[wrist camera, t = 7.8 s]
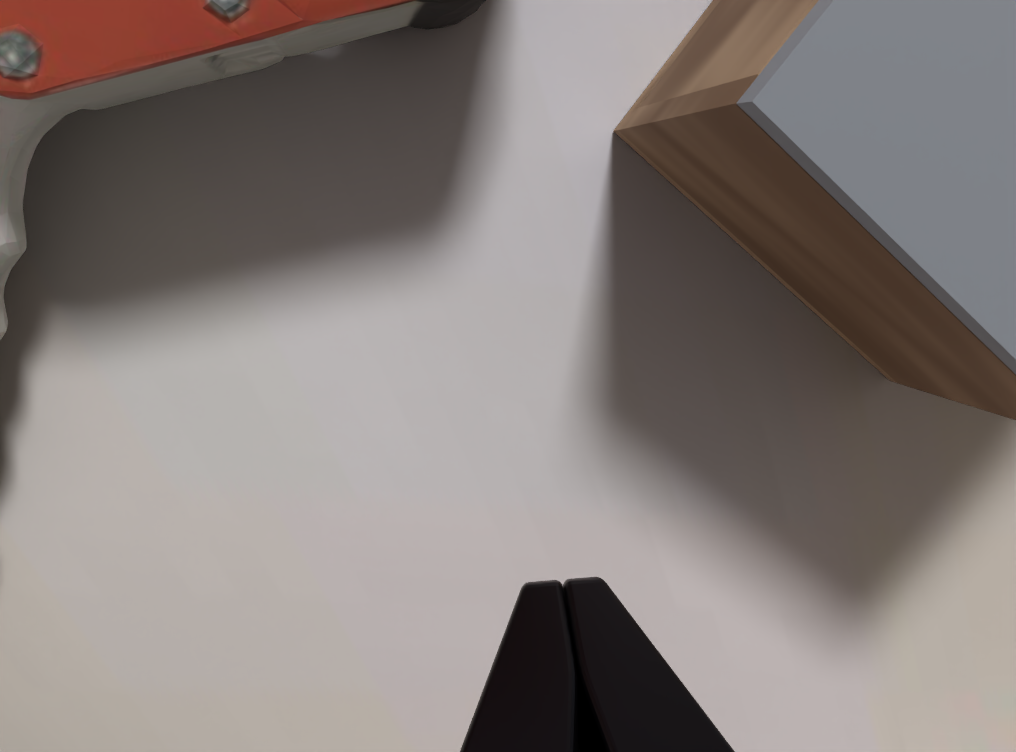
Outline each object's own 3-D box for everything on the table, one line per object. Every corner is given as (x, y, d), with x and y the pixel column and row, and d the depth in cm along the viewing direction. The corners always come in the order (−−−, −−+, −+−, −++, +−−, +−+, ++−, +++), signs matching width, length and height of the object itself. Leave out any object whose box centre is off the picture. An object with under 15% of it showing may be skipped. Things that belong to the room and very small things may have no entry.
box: (889, 380, 23) (1083, 440, 17) (613, 131, 20) (735, 103, 14) (1078, 137, 23) (1338, 116, 17) (827, -150, 20) (1037, -292, 14)
